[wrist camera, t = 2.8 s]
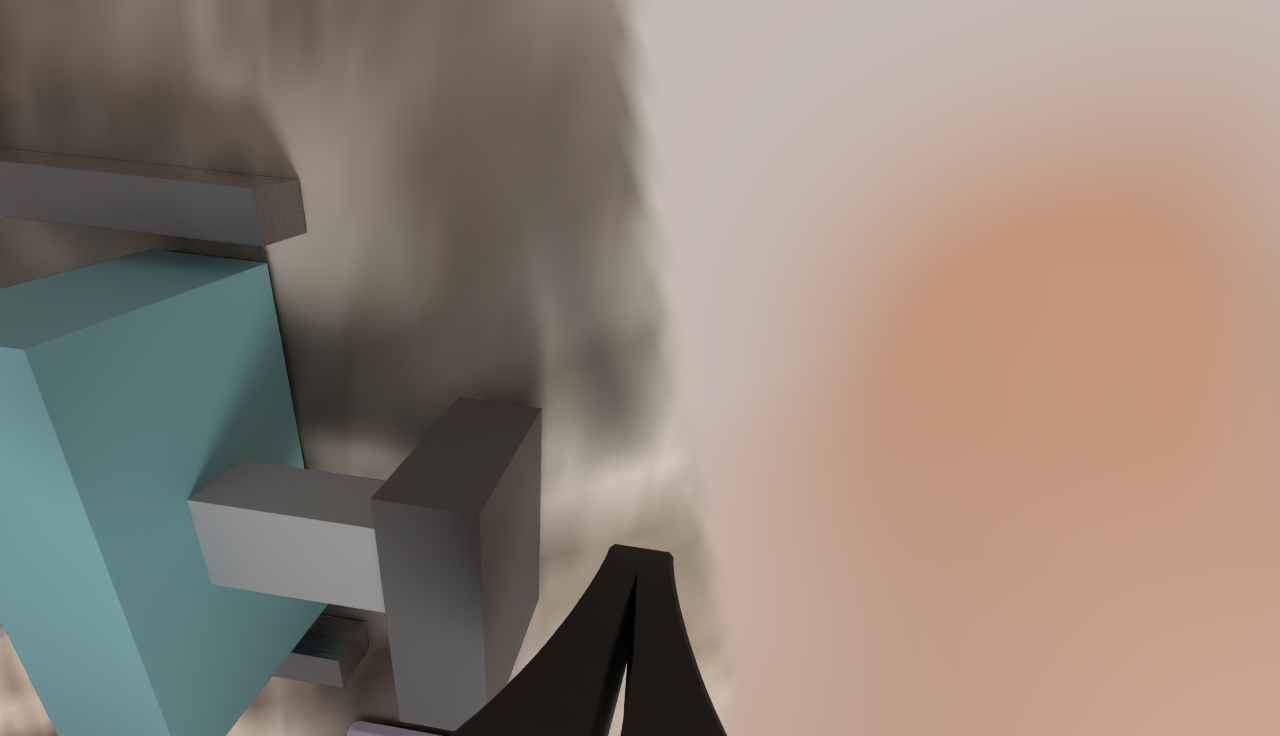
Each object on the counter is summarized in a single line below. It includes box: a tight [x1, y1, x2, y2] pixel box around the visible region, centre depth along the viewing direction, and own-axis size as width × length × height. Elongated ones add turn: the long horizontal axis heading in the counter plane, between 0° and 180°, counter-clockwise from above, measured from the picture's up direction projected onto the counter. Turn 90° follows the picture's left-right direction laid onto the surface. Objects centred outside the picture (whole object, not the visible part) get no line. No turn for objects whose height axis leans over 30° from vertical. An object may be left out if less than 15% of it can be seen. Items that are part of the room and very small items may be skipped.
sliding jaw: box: [0, 249, 542, 736], centre depth 14 cm, size 11×10×6 cm
